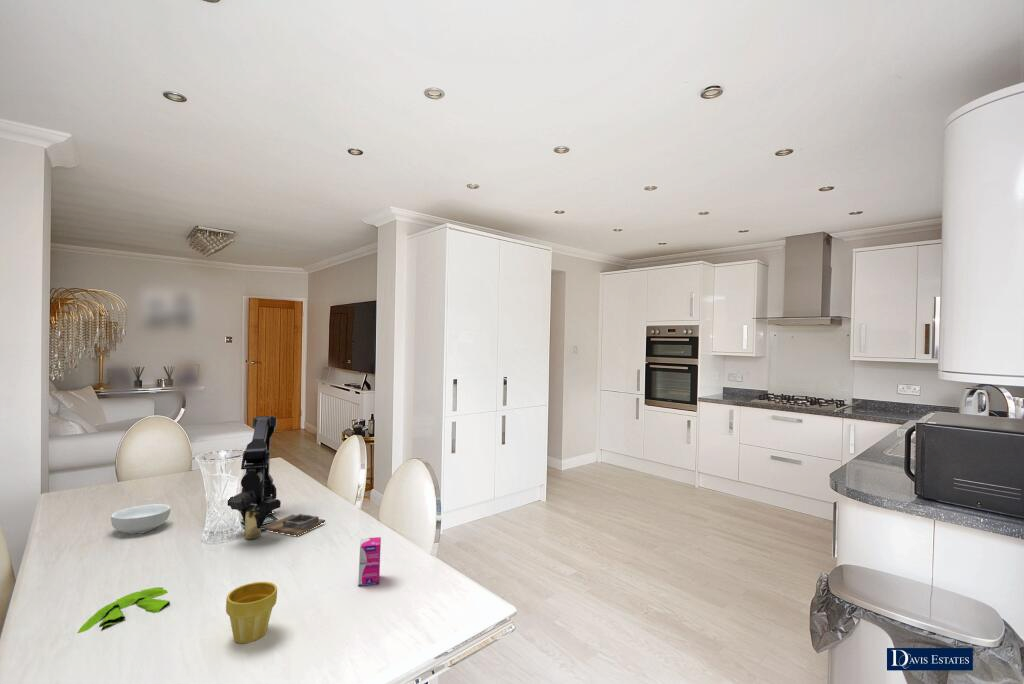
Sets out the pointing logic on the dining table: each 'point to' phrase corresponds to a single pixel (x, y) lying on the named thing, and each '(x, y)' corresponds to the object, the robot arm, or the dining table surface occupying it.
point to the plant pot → (251, 610)
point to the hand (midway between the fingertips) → (253, 527)
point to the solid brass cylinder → (251, 524)
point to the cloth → (124, 602)
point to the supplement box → (369, 561)
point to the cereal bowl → (140, 518)
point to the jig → (294, 524)
